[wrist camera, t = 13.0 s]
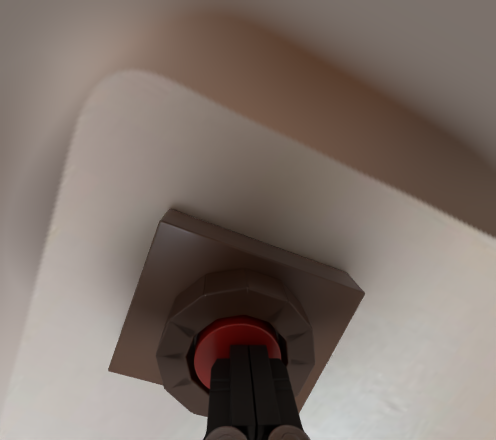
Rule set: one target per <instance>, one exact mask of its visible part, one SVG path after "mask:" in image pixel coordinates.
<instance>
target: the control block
mask: <svg viewBox="0 0 496 440" xmlns="http://www.w3.org/2000/svg"><path fill="white" fill-rule="evenodd" d="M364 295H365V292H364V291H363V290H362V289H361V288H360V287H359V286H358V285H357V283H356V282H355V281H354V280H353V279H352V278H351V277H350V276H349V274H348V273H346V272H343V271H340V270H338V269H335V268H332V267H329V266H327V265H324V264H321V263H318V262H316V261H313V260H310V259H307V258H305V257H302V256H299V255H296V254H294V253H291V252H288V251H285V250H283V249H280V248H277V247H274V246H272V245H269V244H266V243H263V242H261V241H258V240H255V239H252V238H250V237H247V236H244V235H241V234H239V233H236V232H233V231H230V230H228V229H225V228H222V227H219V226H216V225H214V224H211V223H208V222H205V221H203V220H200V219H197V218H194V217H192V216H189V215H186V214H183V213H181V212H178V211H175V210H172V209H169V210H168V211H167V212H166V213H165V215H164V216H163V217H162V219H161V220H160V221H159V224H158V227H157V230H156V233H155V236H154V238H153V241H152V244H151V247H150V250H149V253H148V256H147V259H146V262H145V264H144V267H143V270H142V273H141V276H140V279H139V282H138V285H137V288H136V290H135V293H134V296H133V299H132V302H131V305H130V308H129V311H128V314H127V316H126V319H125V322H124V325H123V328H122V331H121V334H120V337H119V340H118V342H117V345H116V348H115V351H114V354H113V357H112V360H111V363H110V366H109V368H108V371H110V372H114V373H118V374H122V375H126V376H130V377H133V378H137V379H141V380H145V381H149V382H153V383H157V384H160V385H163V386H164V389H166V391H167V392H168V393H170V394H171V395H172V396H173V397H174V398H175V399H176V400H178V401H179V402H180V403H181V404H182V405H183V406H184V407H186V408H187V409H188V410H189V411H190V412H193V414H197V415H201V416H205V417H208V406H209V392H210V389H209V388H207V387H206V386H205V385H204V384H203V383H202V382H201V380H200V379H199V378H198V376H197V374H196V371H195V367H194V355H195V348H196V341H197V334H198V333H199V332H200V331H201V330H203V329H204V328H205V327H207V326H208V325H209V324H211V323H212V322H214V321H215V320H216V319H220V318H226V317H232V316H238V315H248V316H251V317H254V318H257V319H260V320H264V321H267V322H269V323H270V324H271V325H272V326H273V327H274V328H275V332H276V336H277V340H278V344H279V347H280V352H281V361H282V362H283V363H284V365H285V366H286V367H287V370H288V374H289V378H290V382H291V386H292V390H293V393H294V397H295V401H296V405H297V409H298V413H300V411H301V409H302V407H303V405H304V404H305V402H306V400H307V398H308V396H309V395H310V393H311V391H312V389H313V387H314V386H315V384H316V382H317V380H318V378H319V376H320V375H321V373H322V371H323V369H324V367H325V366H326V364H327V362H328V360H329V358H330V357H331V355H332V353H333V351H334V349H335V347H336V346H337V344H338V342H339V340H340V338H341V337H342V335H343V333H344V331H345V329H346V328H347V326H348V324H349V322H350V320H351V319H352V317H353V315H354V313H355V311H356V309H357V308H358V306H359V304H360V302H361V300H362V299H363V297H364Z"/></svg>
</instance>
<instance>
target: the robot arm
mask: <svg viewBox="0 0 496 440" xmlns="http://www.w3.org/2000/svg"><path fill="white" fill-rule="evenodd" d="M203 440H310V438H309V437H308V435H307V434H306V433H305V432H304V430H303V428H302V424H301V420H300V417H299V413H298V409H297V405H296V401H295V397H294V393H293V390H292V386H291V382H290V378H289V374H288V370H287V367H286V366H285V365H284V363H283V362H282V361H281V360H280V358H269V356H268V350H267V346H266V345H230V357H229V358H217V359H216V361H215V363H214V364H213V366H212V368H211V377H210V392H209V406H208V421H207V431H206V435H205V437H204V439H203Z"/></svg>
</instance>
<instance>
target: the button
mask: <svg viewBox="0 0 496 440" xmlns="http://www.w3.org/2000/svg"><path fill="white" fill-rule="evenodd" d="M230 345H266V346H267V350H268V356H269V358H280V360H281V352H280V347H279V344H278V340H277V336H276V332H275V328H274V327H273V326H272V325H271V324H270V323H269V322H267V321H264V320H260V319H257V318H254V317H251V316H248V315H238V316H232V317H226V318H220V319H216V320H215V321H214V322H212V323H211V324H209V325H208V326H207V327H205V328H204V329H203V330H201V331H200V332H199V333H198V334H197V341H196V348H195V355H194V367H195V371H196V374H197V376H198V378H199V379H200V380H201V382H202V383H203V384H204V385H205V386H206V387H207V388H209V389H210V377H211V368H212V366H213V364H214V363H215V361H216V359H217V358H229V357H230Z"/></svg>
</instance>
